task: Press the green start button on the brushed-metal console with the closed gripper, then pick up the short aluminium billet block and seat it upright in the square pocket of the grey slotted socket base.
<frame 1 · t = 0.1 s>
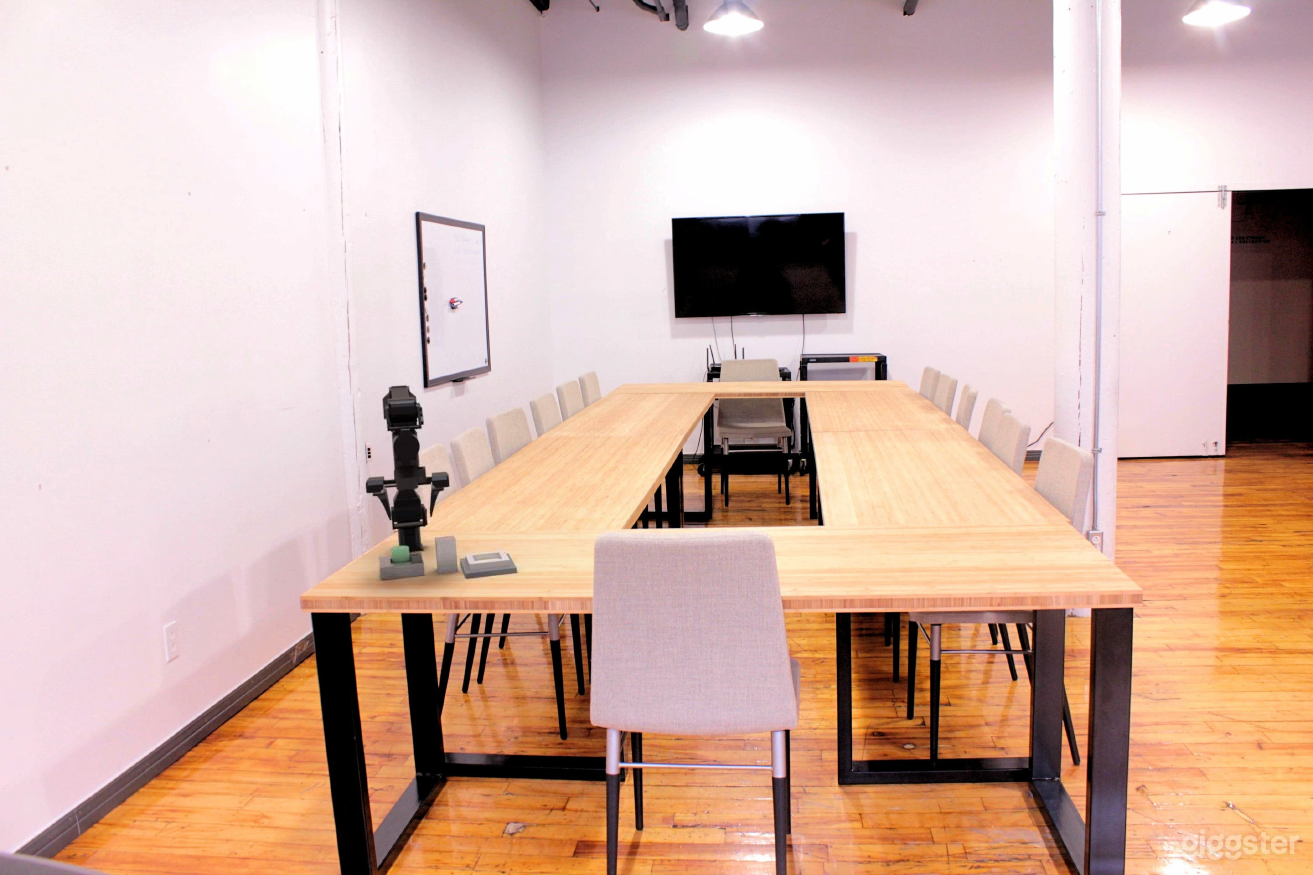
hand: (410, 518, 231), 14 cm above the table, fingers open, 9 cm apart
billet: (447, 570, 238), on the table
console: (401, 571, 238), on the table
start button: (400, 555, 238), point 4 cm above the table, slide at 0.0 cm
grey slotted socket base: (487, 567, 239), on the table
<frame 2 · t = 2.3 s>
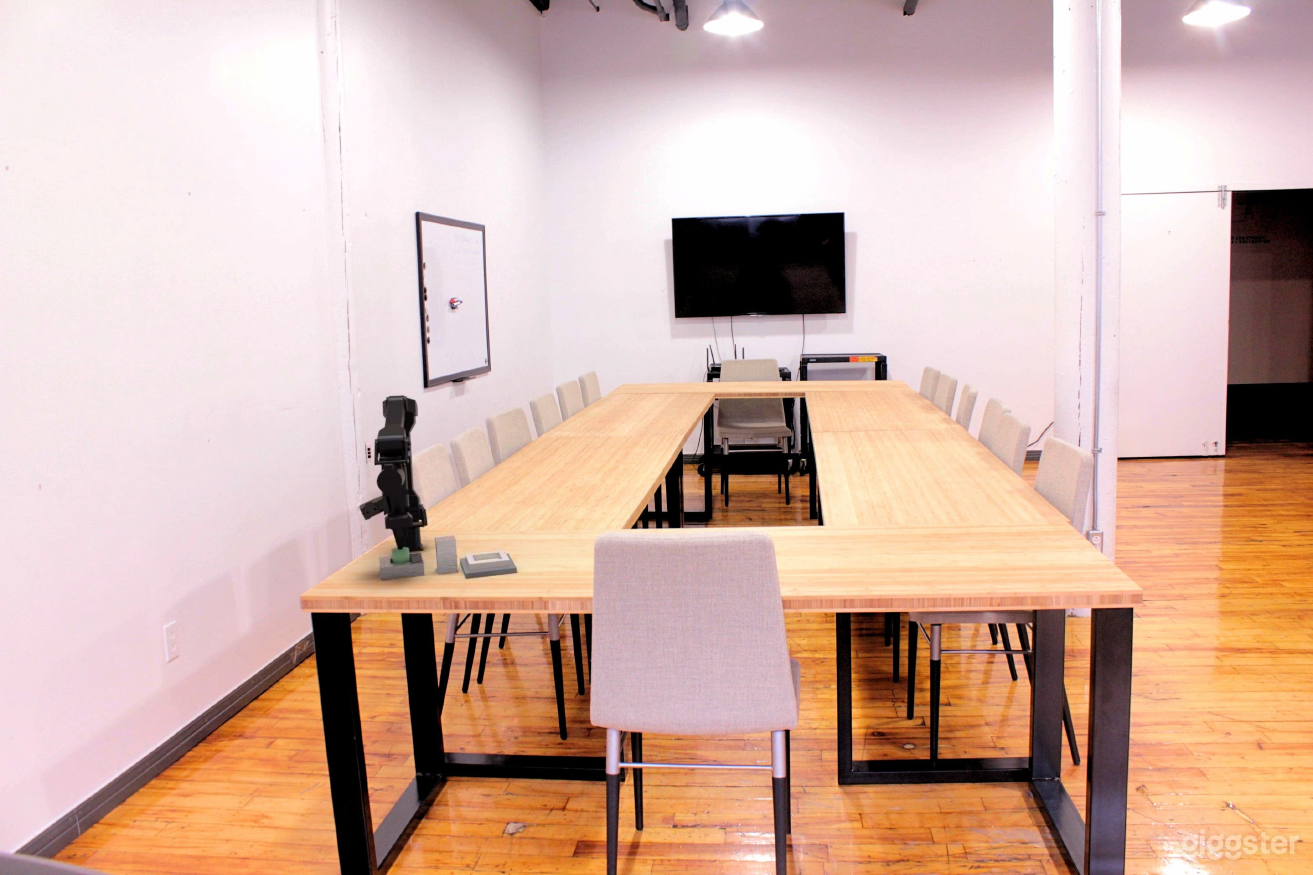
hand: (400, 549, 237), 6 cm above the table, fingers closed, pressing on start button
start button: (400, 557, 238), point 4 cm above the table, slide at 0.4 cm, touching gripper
everything else where it was.
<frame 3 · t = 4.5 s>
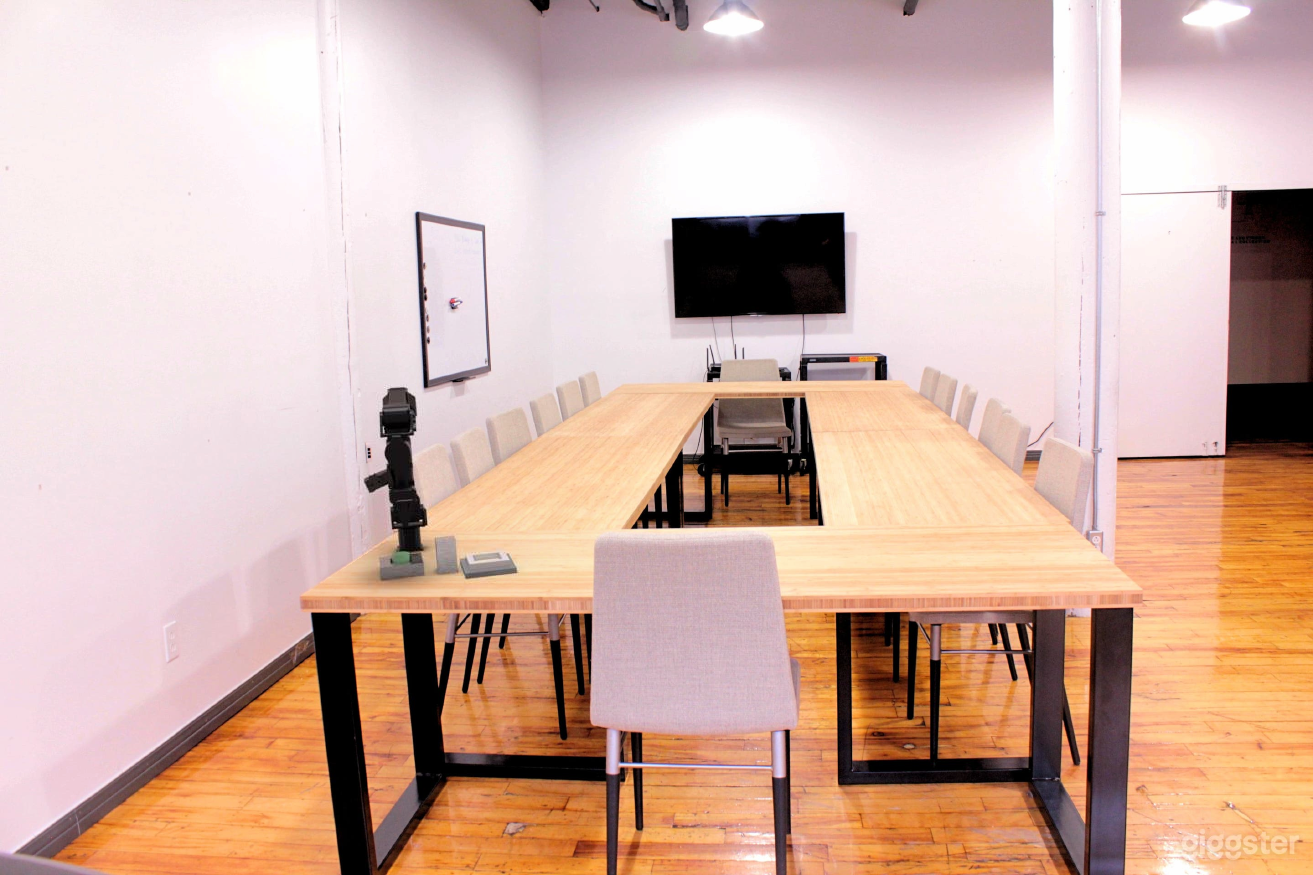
hand: (404, 522, 236), 12 cm above the table, fingers open, 9 cm apart
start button: (401, 561, 238), point 3 cm above the table, slide at 1.5 cm
everything else where it was.
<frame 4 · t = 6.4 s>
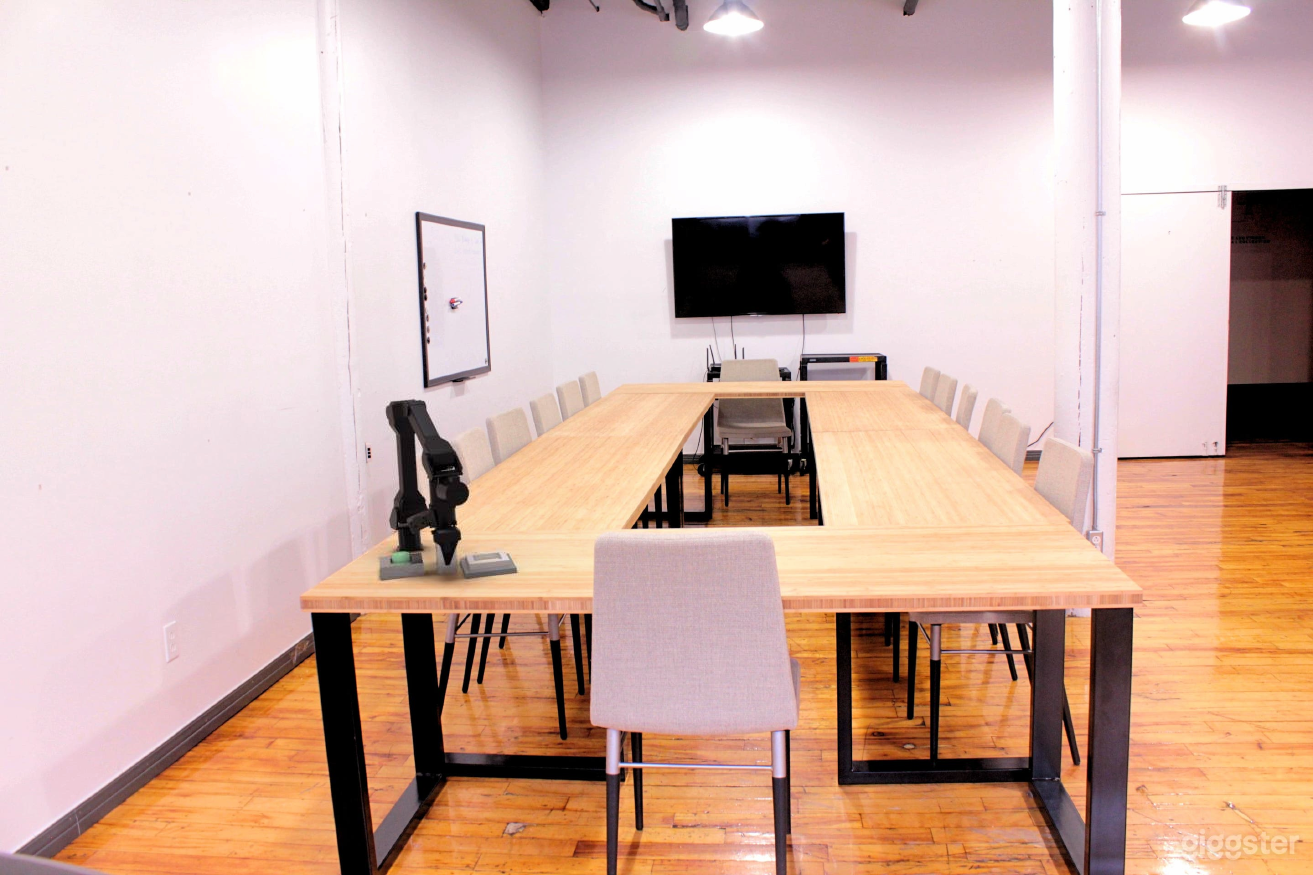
hand: (446, 562, 237), 2 cm above the table, fingers closed on billet, 4 cm apart
billet: (447, 570, 238), on the table, touching gripper
everything else where it was.
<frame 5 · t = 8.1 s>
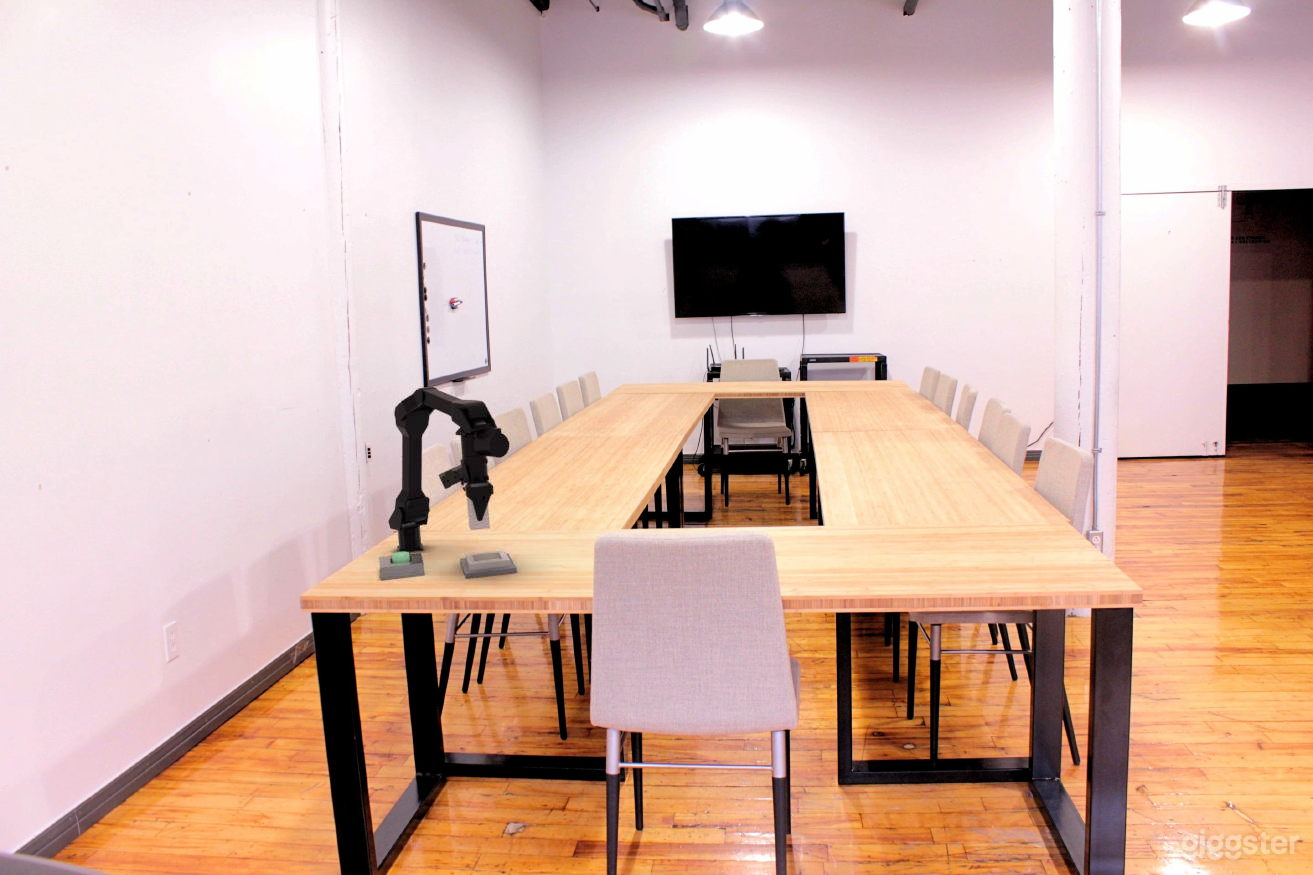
hand: (478, 518, 237), 12 cm above the table, fingers closed on billet, 4 cm apart
billet: (479, 527, 237), point 10 cm above the table, touching gripper
everything else where it was.
when the fingers open (4 cm above the table, at t = 10.0 s): billet stays where it is, resting on grey slotted socket base.
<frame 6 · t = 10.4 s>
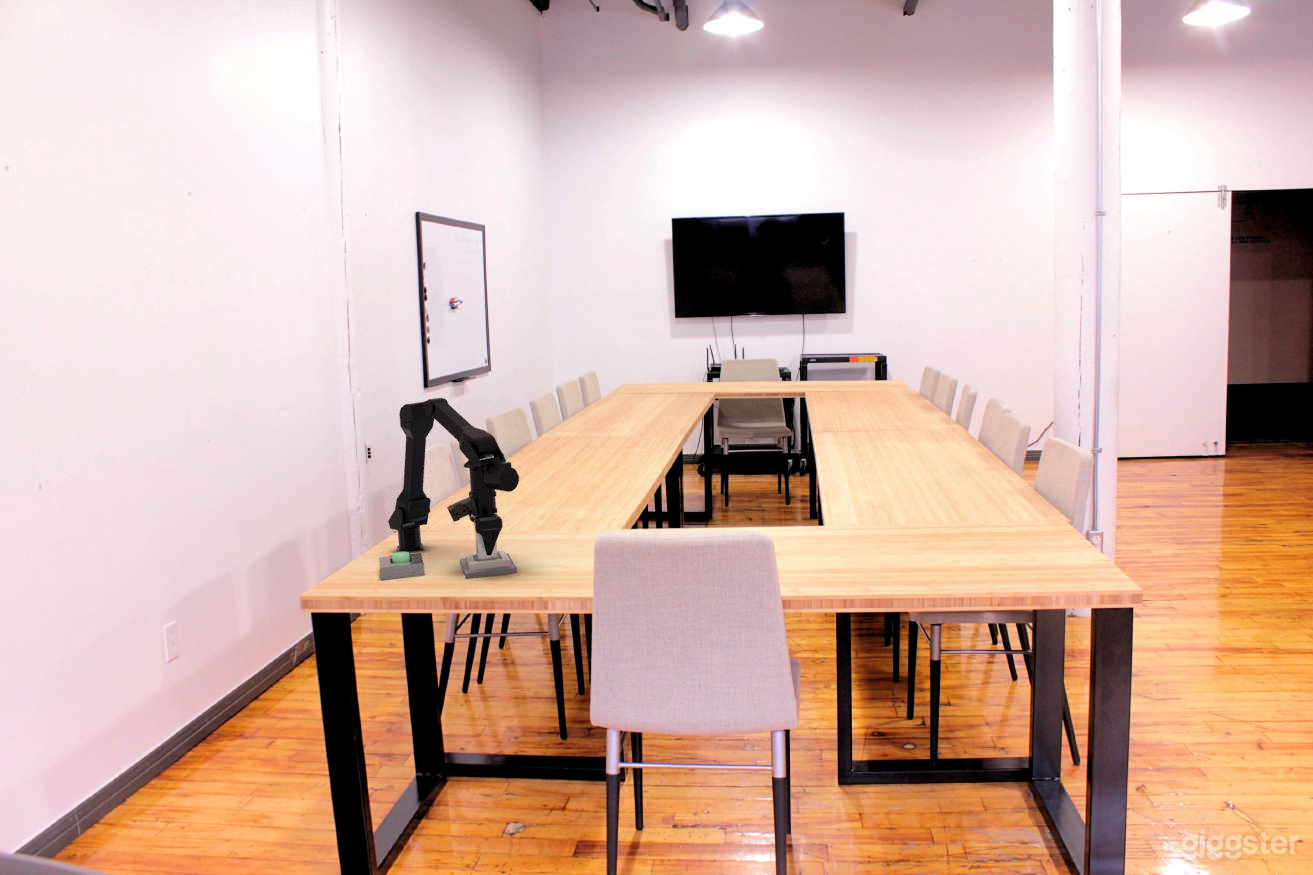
hand: (486, 550, 238), 4 cm above the table, fingers open, 9 cm apart
billet: (487, 562, 239), point 1 cm above the table, touching grey slotted socket base
everything else where it was.
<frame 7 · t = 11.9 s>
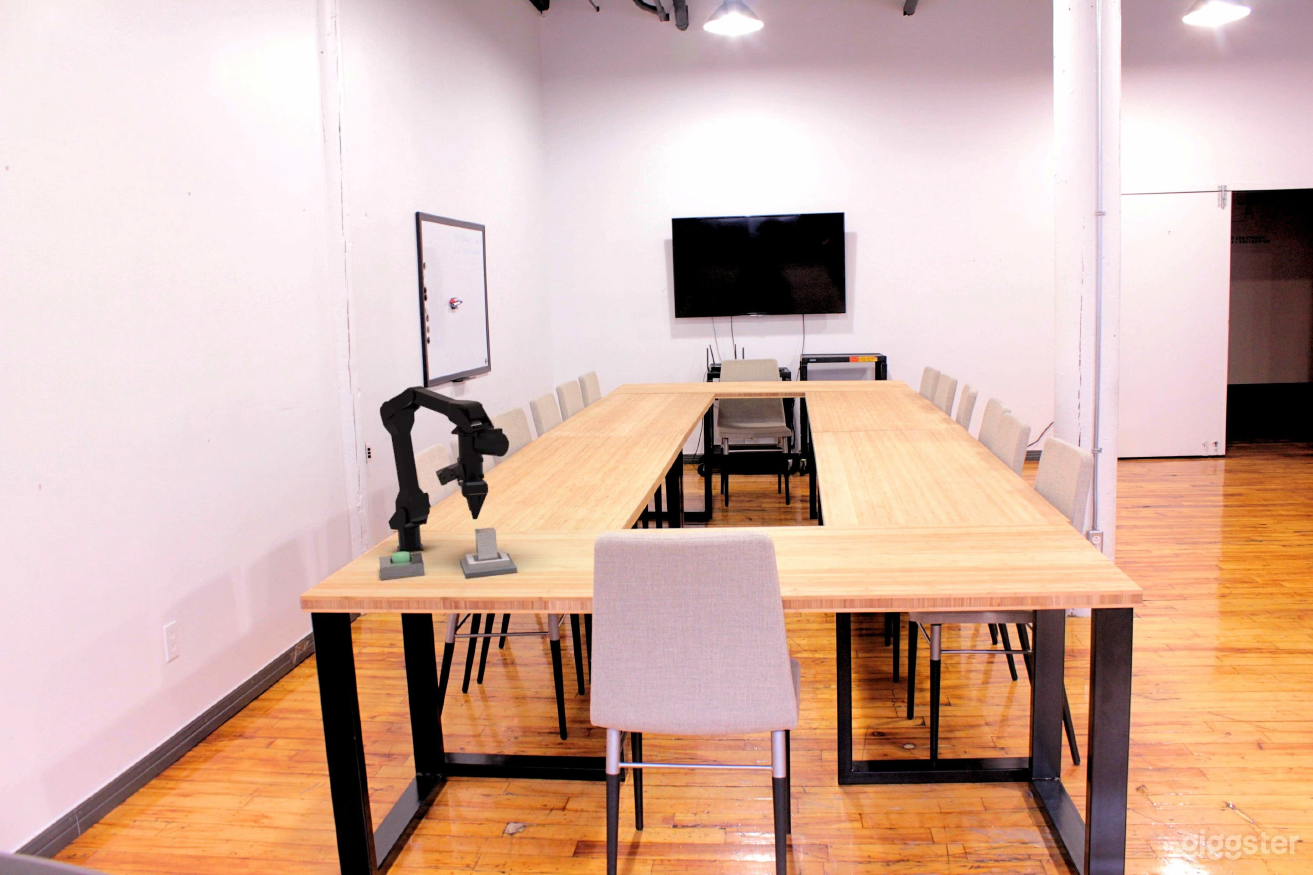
hand: (473, 514, 245), 11 cm above the table, fingers open, 9 cm apart
nothing on the table moved.
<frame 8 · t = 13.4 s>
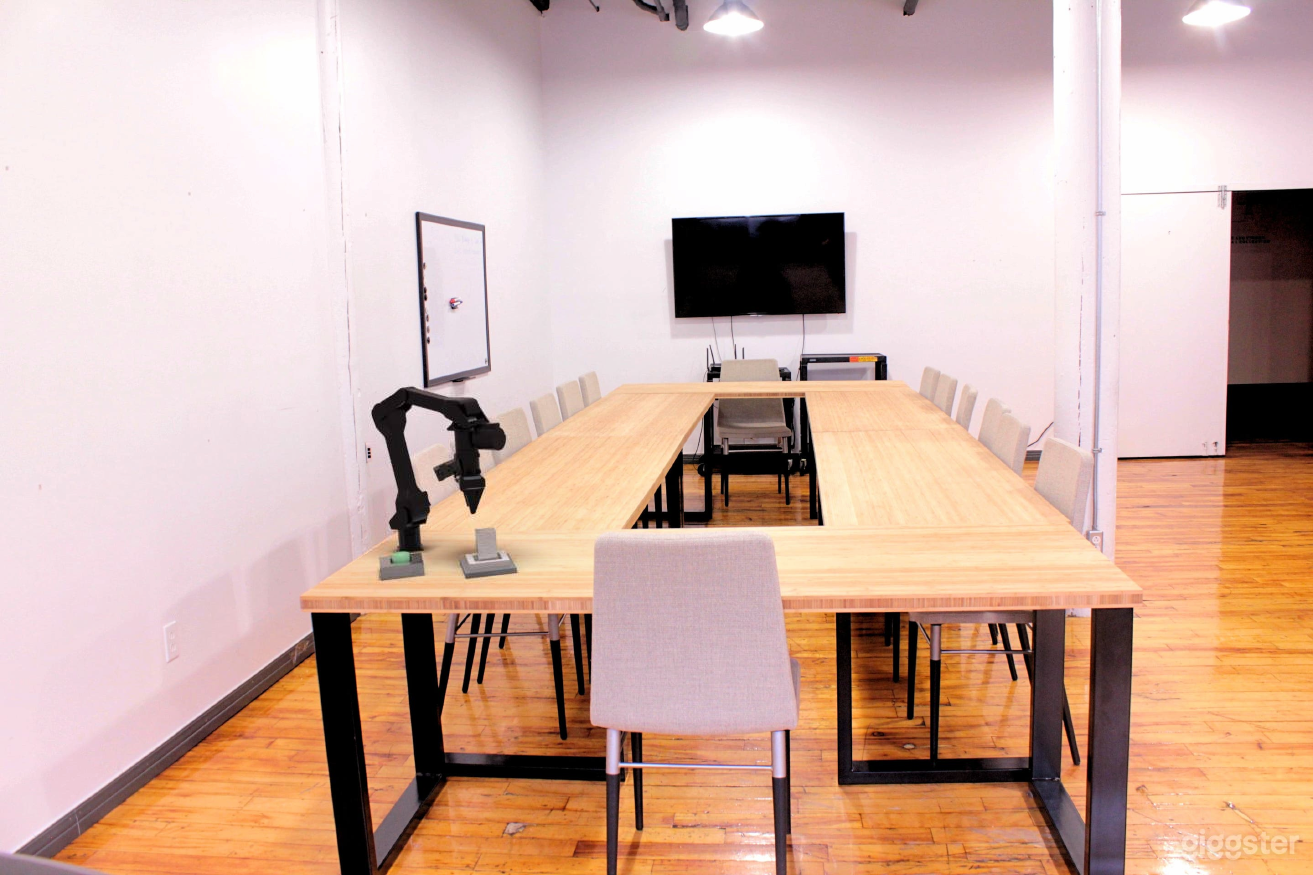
hand: (471, 510, 248), 12 cm above the table, fingers open, 9 cm apart
nothing on the table moved.
at the end: billet 0.1 cm off-centre on the grey slotted socket base, point 1.3 cm above the grey slotted socket base's base; billet tilted 0°; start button slide at 1.5 cm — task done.
